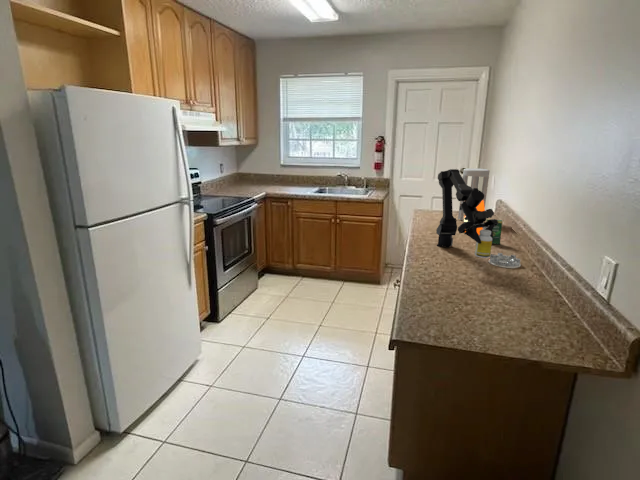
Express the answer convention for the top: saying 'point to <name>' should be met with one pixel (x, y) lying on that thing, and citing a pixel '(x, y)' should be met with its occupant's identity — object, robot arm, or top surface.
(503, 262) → the steel ashtray
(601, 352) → the top surface
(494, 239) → the coffee box
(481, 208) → the orange juice
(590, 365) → the top surface
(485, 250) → the pill bottle
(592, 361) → the top surface
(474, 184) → the stool
